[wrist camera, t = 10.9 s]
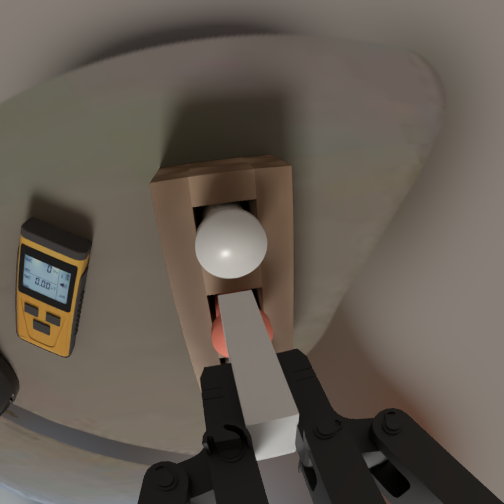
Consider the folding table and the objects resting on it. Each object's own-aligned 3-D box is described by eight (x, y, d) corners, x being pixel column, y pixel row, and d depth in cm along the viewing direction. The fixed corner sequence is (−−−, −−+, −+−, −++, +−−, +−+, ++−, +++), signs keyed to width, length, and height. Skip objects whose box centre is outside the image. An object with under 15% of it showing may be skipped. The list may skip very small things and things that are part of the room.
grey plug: (198, 239, 27) (201, 283, 21) (191, 189, 25) (190, 217, 18) (250, 232, 28) (268, 272, 21) (246, 182, 26) (265, 207, 19)
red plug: (210, 309, 30) (216, 363, 23) (203, 269, 28) (207, 319, 21) (256, 302, 31) (274, 353, 24) (253, 261, 28) (272, 309, 22)
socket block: (200, 363, 36) (204, 401, 30) (159, 168, 25) (149, 183, 19) (278, 351, 37) (291, 386, 32) (271, 154, 26) (291, 165, 21)
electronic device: (22, 322, 29) (13, 338, 26) (30, 213, 24) (14, 226, 21) (77, 345, 32) (70, 364, 29) (98, 241, 27) (87, 257, 24)
